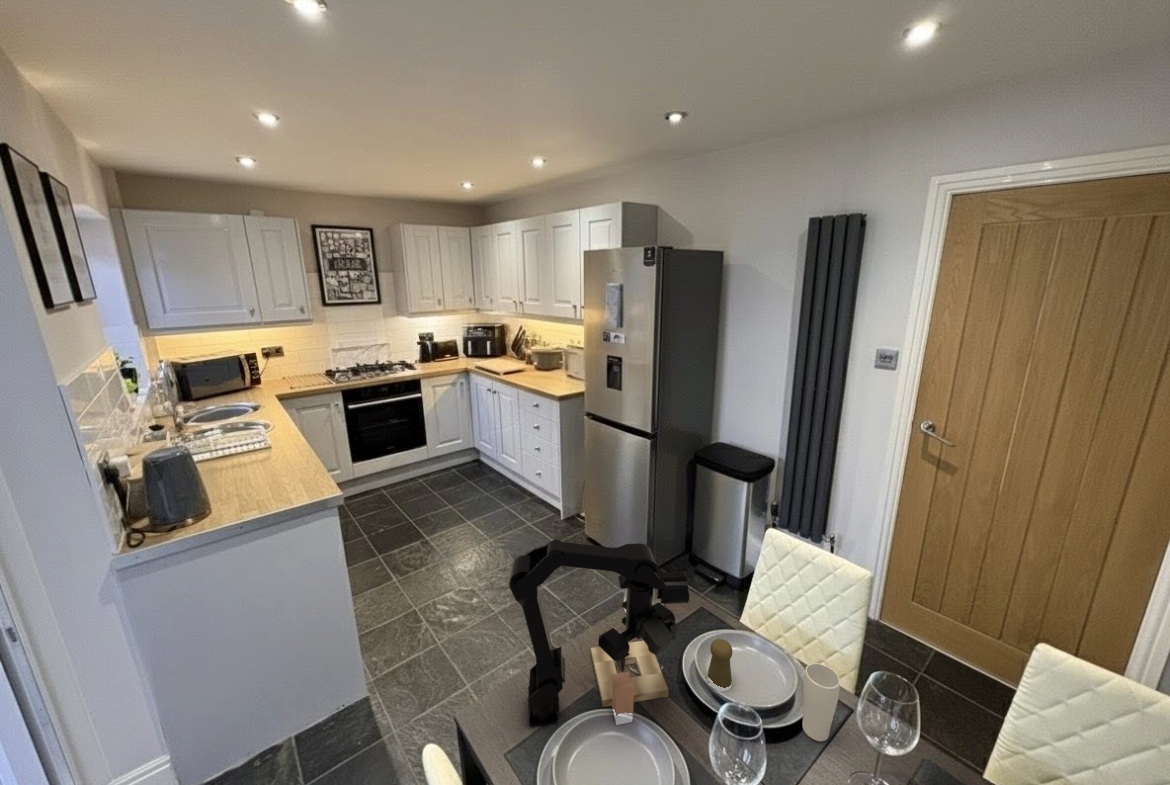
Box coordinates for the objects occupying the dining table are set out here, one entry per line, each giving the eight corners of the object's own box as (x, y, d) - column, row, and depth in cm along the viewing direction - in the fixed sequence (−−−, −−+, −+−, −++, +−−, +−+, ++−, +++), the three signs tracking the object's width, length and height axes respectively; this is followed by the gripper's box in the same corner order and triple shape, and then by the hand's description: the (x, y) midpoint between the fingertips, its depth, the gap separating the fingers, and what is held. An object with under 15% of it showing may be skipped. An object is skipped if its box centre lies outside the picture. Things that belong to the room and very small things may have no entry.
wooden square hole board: (602, 707, 108) (602, 700, 108) (590, 654, 123) (590, 648, 123) (668, 696, 111) (668, 689, 110) (648, 646, 126) (648, 639, 125)
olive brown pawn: (733, 693, 111) (736, 655, 109) (707, 689, 112) (709, 651, 110) (730, 673, 117) (733, 636, 114) (706, 669, 118) (708, 633, 116)
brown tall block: (615, 725, 104) (616, 688, 101) (612, 709, 107) (612, 674, 105) (633, 722, 104) (633, 686, 102) (628, 706, 108) (629, 671, 106)
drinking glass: (831, 752, 97) (839, 694, 94) (796, 736, 101) (802, 679, 97) (833, 726, 103) (841, 670, 99) (800, 712, 106) (807, 657, 103)
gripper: (633, 643, 90) (630, 708, 93) (696, 604, 101) (691, 664, 104) (597, 611, 98) (596, 671, 102) (658, 578, 109) (655, 634, 113)
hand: (636, 660), depth 105 cm, fingers open, 9 cm apart
